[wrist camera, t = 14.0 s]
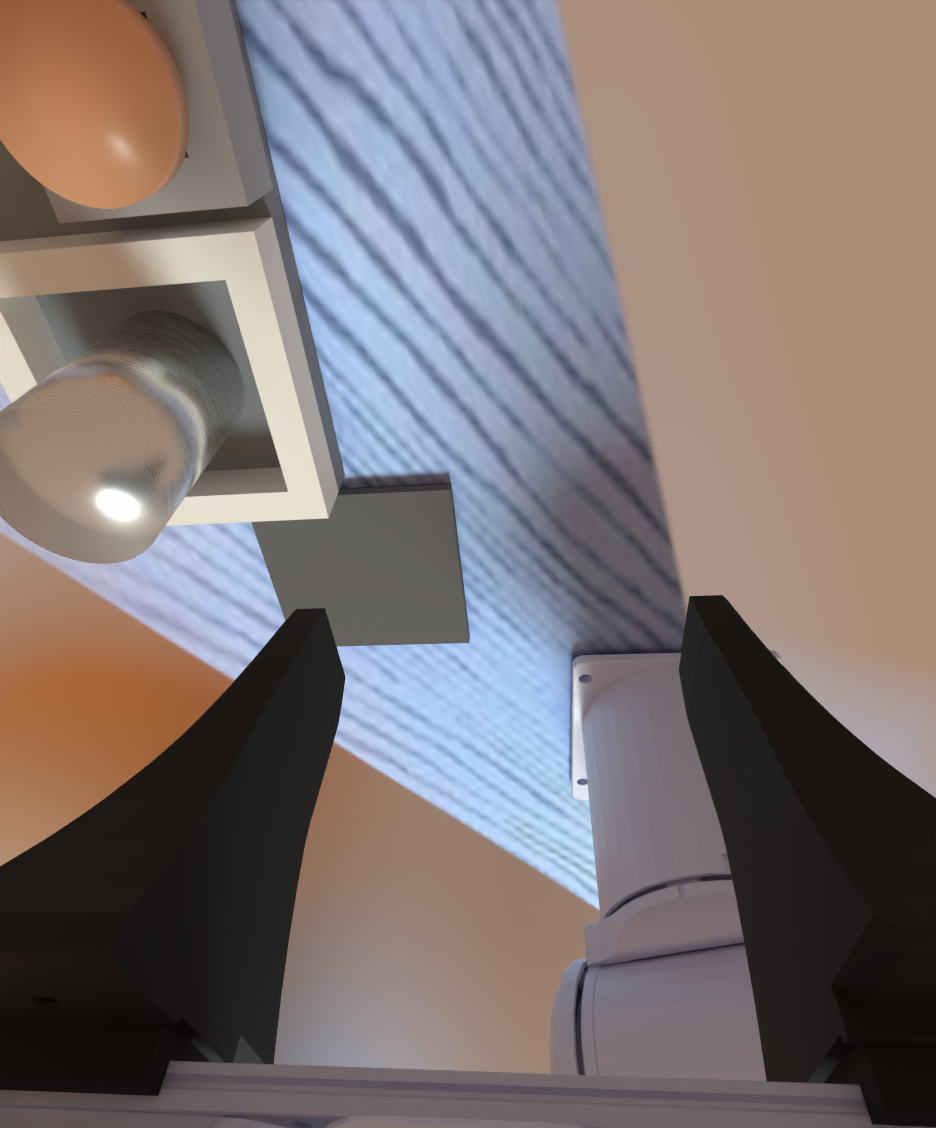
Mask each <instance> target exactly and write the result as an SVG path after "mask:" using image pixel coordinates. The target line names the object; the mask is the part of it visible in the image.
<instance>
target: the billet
mask: <svg viewBox="0 0 936 1128" xmlns="http://www.w3.org/2000/svg"><path fill="white" fill-rule="evenodd" d="M244 402H245V391H244V383H243V379H242V376H241V373H240V370H239V368H238V366H237V364H236V362H235V360H234V358H233V357H232V355H231V354H230V352H229V351H228V350H227V348H226V347H225V346H224V345H223V344H222V342H221V341H220V340H219V339H218V338H216V337H215V336H214V335H213V334H212V333H211V332H209V331H208V330H207V329H206V328H204V327H203V326H201V325H199V324H198V323H196V322H194V321H192V320H190V319H188V318H186V317H183V316H180V315H178V314H174V313H170V312H163V311H146V312H140V313H137V314H134V315H131V316H129V317H127V318H125V319H124V320H122V321H121V322H120V323H118V324H117V325H116V326H114V327H113V328H112V329H110V330H109V331H108V332H106V333H105V334H104V335H102V336H101V337H100V338H98V339H97V340H96V341H94V342H93V343H92V344H90V345H89V346H88V347H86V348H85V349H84V350H82V351H81V352H80V353H78V354H77V355H76V356H74V357H73V358H72V359H70V360H69V361H68V362H66V363H65V364H64V365H62V366H61V367H60V368H58V369H57V370H56V371H54V372H53V373H52V374H50V375H49V376H48V377H46V378H45V379H44V380H42V381H41V382H40V383H38V384H37V385H36V386H34V387H33V388H31V389H30V390H29V391H27V392H26V393H25V394H23V395H22V396H21V397H19V398H18V399H17V400H15V401H14V402H13V403H11V404H10V405H9V406H7V407H6V408H5V409H3V410H2V411H1V412H0V516H1V517H2V518H3V519H4V520H5V521H6V522H7V523H8V524H9V525H10V526H11V527H12V528H14V529H15V530H16V531H17V532H18V533H20V534H21V535H23V536H24V537H26V538H27V539H28V540H30V541H32V542H33V543H35V544H37V545H39V546H40V547H42V548H44V549H46V550H48V551H51V552H53V553H55V554H58V555H61V556H63V557H67V558H70V559H73V560H78V561H83V562H89V563H117V562H122V561H126V560H129V559H131V558H134V557H136V556H138V555H140V554H141V553H143V552H144V551H146V550H147V549H148V548H149V547H150V546H151V545H152V543H153V542H154V541H155V540H156V538H157V537H158V535H159V534H160V532H161V531H162V530H163V528H164V527H165V525H166V524H167V522H168V521H169V520H170V518H171V517H172V515H173V514H174V512H175V511H176V510H177V508H178V507H179V505H180V504H181V502H182V501H183V499H184V498H185V497H186V495H187V494H188V492H189V491H190V489H191V488H192V487H193V485H194V484H195V482H196V481H197V479H198V478H199V477H200V475H201V474H202V472H203V471H204V469H205V468H206V466H207V465H208V464H209V462H210V461H211V459H212V458H213V456H214V455H215V454H216V452H217V451H218V449H219V448H220V446H221V445H222V444H223V442H224V441H225V439H226V438H227V436H228V435H229V433H230V432H231V431H232V429H233V428H234V426H235V425H236V423H237V422H238V420H239V418H240V417H241V414H242V411H243V407H244Z"/></svg>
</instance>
